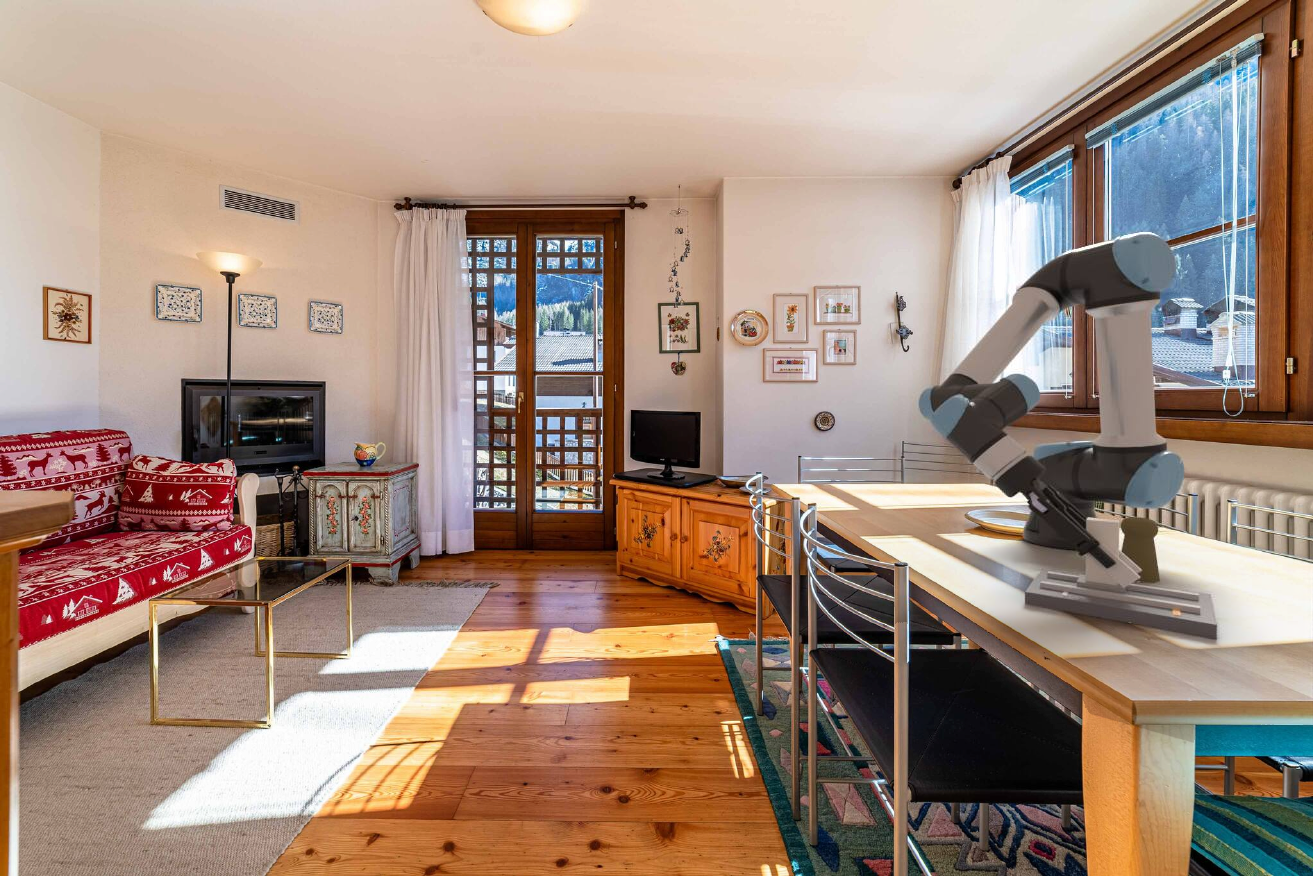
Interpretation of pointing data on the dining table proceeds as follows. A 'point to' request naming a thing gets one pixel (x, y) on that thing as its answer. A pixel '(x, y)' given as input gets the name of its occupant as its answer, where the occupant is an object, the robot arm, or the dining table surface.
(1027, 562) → the dining table surface
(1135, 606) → the board
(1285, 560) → the dining table surface
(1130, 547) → the cork
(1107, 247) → the robot arm
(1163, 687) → the dining table surface
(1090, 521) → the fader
